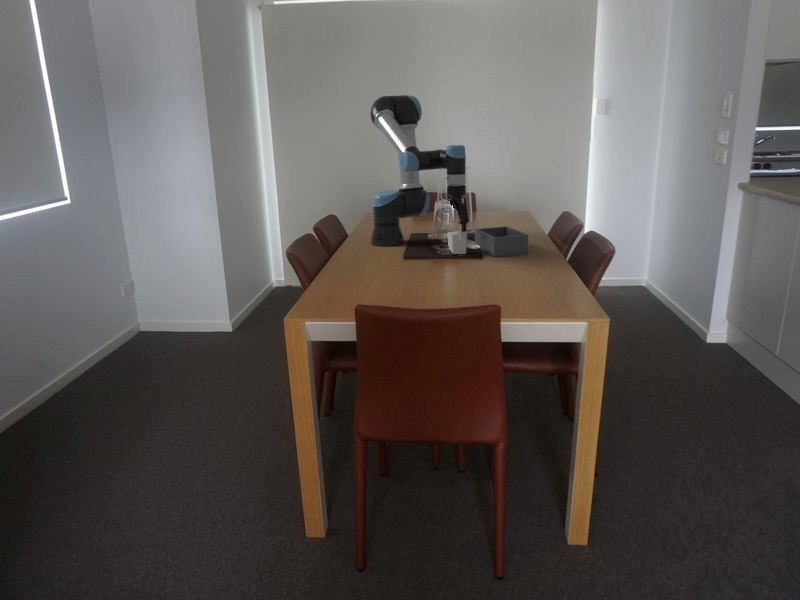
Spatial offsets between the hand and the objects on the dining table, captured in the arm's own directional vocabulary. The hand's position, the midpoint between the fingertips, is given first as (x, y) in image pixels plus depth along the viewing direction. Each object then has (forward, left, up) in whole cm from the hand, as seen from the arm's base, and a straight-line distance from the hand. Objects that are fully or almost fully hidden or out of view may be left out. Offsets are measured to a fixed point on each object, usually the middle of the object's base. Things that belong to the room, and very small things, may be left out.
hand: (457, 236), depth 248 cm
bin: (+2, +19, -7) cm, 20 cm away
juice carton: (0, 0, -7) cm, 7 cm away
